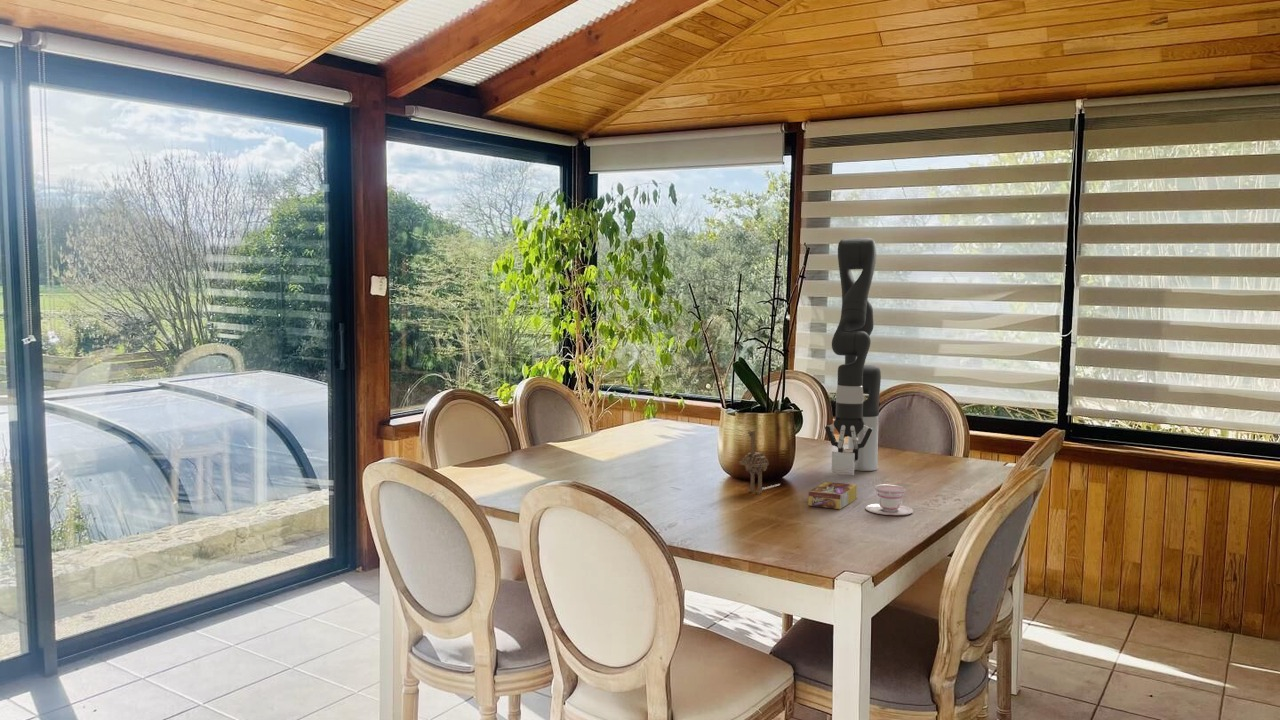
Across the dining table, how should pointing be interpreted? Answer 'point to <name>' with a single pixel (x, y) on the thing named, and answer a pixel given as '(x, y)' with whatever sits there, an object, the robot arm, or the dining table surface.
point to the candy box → (832, 495)
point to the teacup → (889, 501)
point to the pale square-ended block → (843, 462)
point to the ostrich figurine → (755, 464)
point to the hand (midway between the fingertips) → (847, 461)
